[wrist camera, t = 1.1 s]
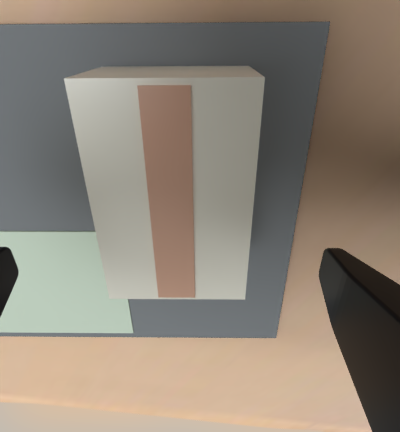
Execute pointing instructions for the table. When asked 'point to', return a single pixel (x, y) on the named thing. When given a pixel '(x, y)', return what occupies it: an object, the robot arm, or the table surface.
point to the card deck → (170, 175)
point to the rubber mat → (76, 187)
